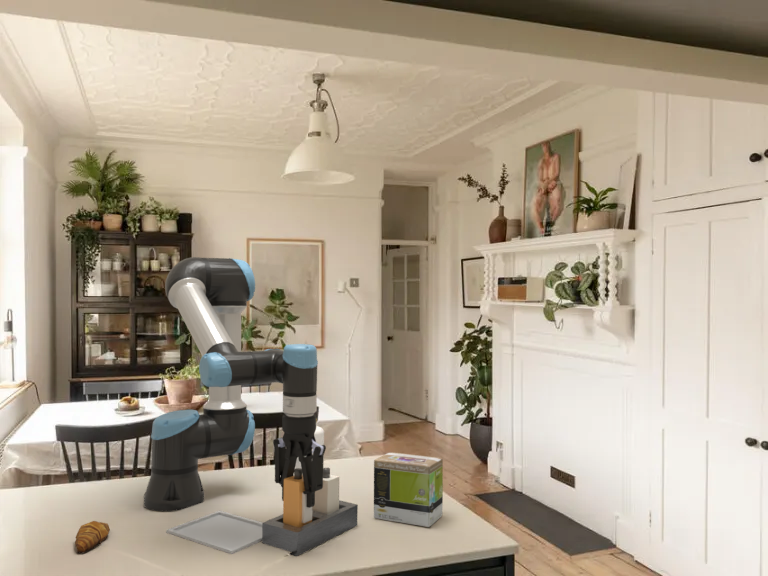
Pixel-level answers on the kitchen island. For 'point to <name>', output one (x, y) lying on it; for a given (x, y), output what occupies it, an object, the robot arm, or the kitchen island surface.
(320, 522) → the grey bottle rack
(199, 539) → the tray
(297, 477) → the orange square bottle
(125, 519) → the kitchen island surface
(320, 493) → the white square bottle
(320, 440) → the white bottle
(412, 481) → the tea box
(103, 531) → the croissant
